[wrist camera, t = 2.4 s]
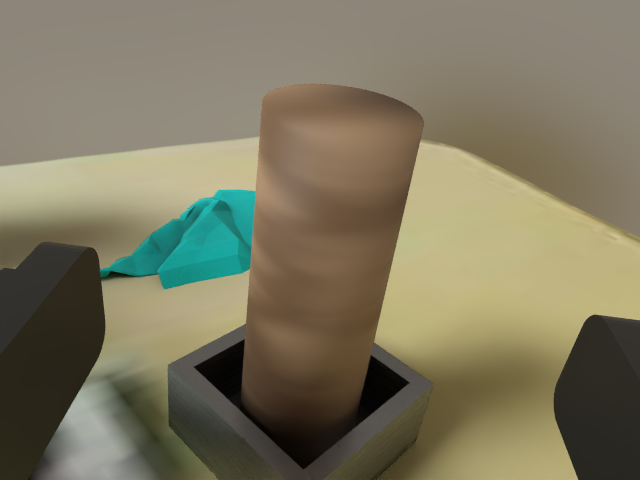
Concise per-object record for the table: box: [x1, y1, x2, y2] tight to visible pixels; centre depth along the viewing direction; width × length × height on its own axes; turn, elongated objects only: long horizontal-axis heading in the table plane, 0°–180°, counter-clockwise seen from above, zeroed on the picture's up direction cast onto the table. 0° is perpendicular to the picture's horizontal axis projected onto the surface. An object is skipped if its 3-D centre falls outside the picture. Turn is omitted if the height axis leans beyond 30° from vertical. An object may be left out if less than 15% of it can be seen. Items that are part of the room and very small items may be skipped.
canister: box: [240, 84, 424, 470], centre depth 23 cm, size 6×6×16 cm
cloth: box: [100, 190, 256, 289], centre depth 44 cm, size 26×14×2 cm, turn 116°
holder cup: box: [168, 324, 434, 480], centre depth 27 cm, size 9×9×4 cm
